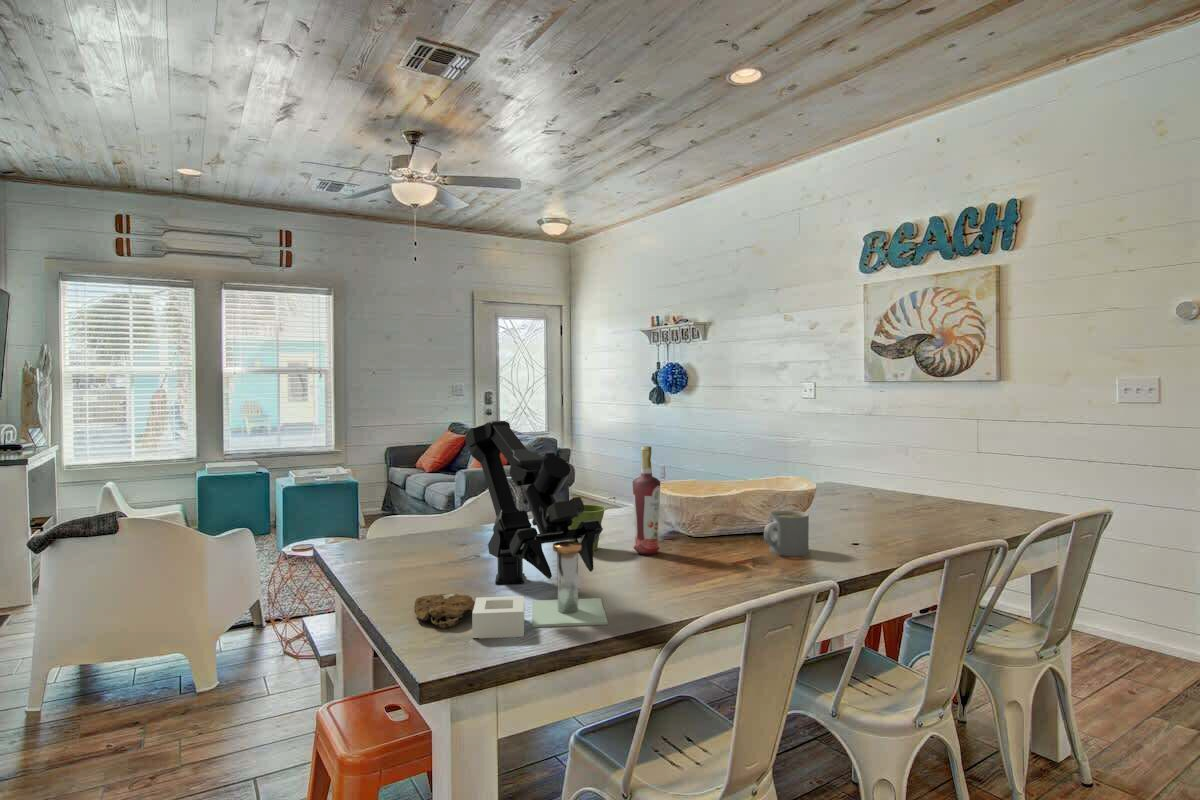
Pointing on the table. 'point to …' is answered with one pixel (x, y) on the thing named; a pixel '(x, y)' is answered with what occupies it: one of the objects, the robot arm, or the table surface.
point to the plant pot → (589, 518)
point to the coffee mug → (787, 533)
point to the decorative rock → (443, 608)
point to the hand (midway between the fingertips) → (571, 574)
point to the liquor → (646, 507)
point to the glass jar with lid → (567, 575)
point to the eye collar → (498, 617)
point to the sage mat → (586, 615)
